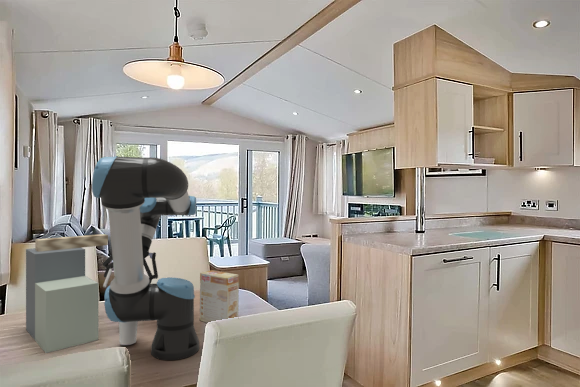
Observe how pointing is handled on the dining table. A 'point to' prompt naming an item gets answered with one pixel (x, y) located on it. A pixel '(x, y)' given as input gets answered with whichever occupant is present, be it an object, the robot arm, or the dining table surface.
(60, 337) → the two-tone stepped block
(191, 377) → the dining table surface
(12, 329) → the dining table surface
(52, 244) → the wooden bar
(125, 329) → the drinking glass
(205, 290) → the coffeecake box
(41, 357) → the dining table surface
